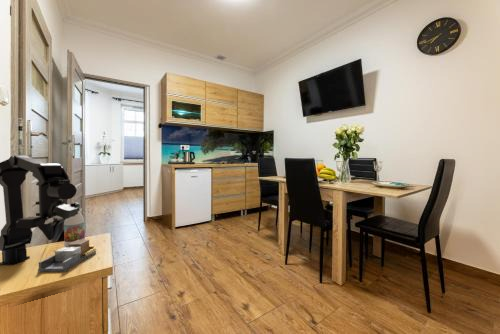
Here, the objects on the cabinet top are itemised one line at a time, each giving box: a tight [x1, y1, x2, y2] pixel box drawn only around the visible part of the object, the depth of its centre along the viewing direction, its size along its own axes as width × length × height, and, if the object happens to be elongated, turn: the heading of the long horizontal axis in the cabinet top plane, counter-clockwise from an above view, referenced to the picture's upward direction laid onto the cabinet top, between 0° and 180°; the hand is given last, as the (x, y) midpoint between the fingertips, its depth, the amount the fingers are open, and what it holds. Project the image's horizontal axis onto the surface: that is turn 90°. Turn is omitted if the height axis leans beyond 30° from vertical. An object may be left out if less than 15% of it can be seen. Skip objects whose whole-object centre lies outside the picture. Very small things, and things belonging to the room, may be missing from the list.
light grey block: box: [54, 246, 81, 261], centre depth 86 cm, size 7×5×4 cm
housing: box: [68, 239, 90, 255], centre depth 91 cm, size 5×5×5 cm
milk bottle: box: [63, 203, 86, 247], centre depth 104 cm, size 8×8×20 cm
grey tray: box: [37, 245, 97, 273], centre depth 87 cm, size 10×16×4 cm, turn 2°
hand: (51, 239), depth 78 cm, fingers closed
